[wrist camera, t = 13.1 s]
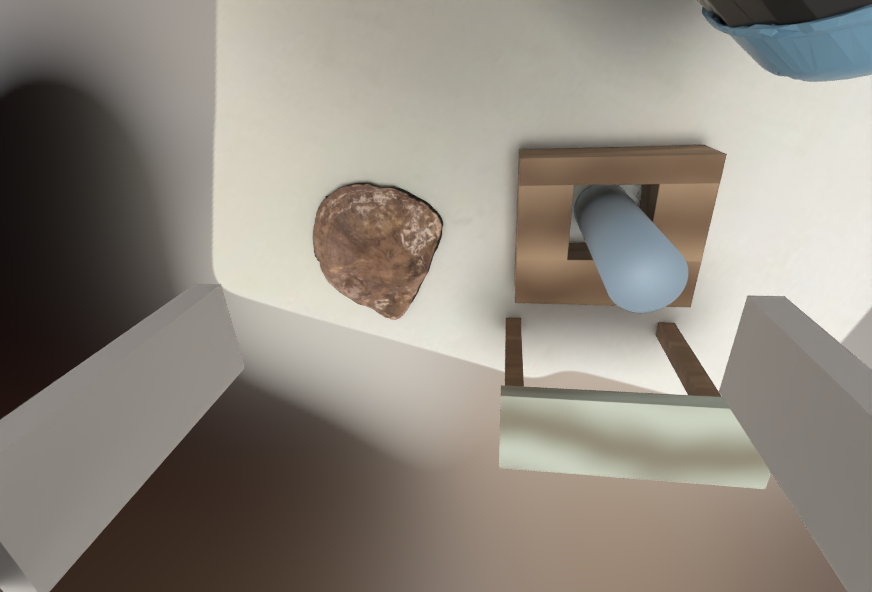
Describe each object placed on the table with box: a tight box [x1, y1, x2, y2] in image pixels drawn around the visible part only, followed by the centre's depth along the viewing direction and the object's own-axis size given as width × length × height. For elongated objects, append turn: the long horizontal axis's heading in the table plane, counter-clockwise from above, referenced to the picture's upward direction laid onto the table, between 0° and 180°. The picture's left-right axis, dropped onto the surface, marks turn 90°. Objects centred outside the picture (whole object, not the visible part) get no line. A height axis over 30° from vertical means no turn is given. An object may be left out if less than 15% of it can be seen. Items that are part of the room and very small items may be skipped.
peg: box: [574, 185, 688, 313], centre depth 32 cm, size 4×4×14 cm
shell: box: [313, 183, 443, 320], centre depth 41 cm, size 12×13×4 cm
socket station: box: [499, 145, 771, 489], centre depth 32 cm, size 18×16×17 cm
